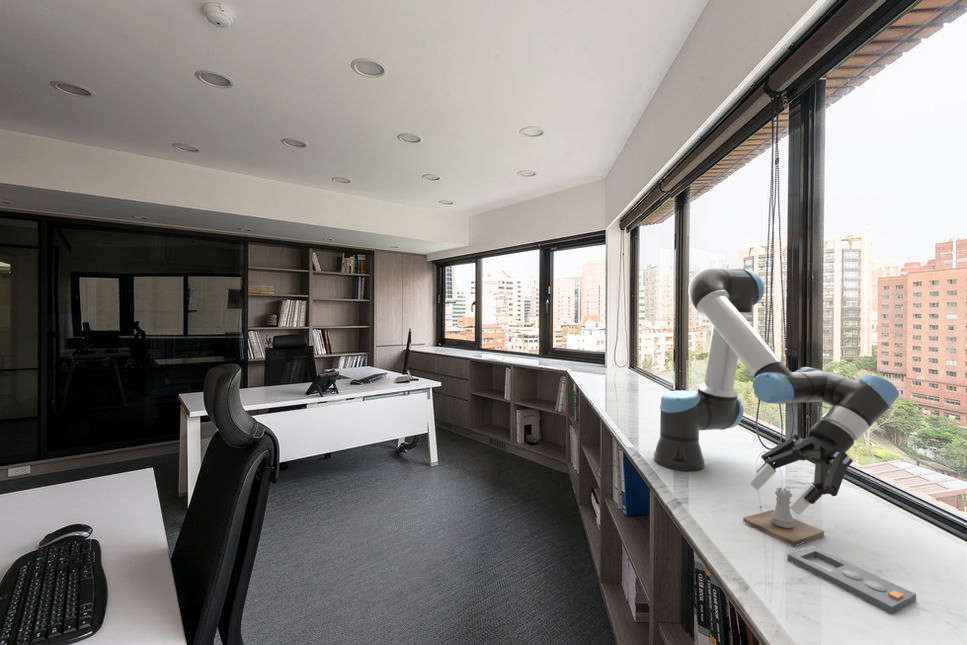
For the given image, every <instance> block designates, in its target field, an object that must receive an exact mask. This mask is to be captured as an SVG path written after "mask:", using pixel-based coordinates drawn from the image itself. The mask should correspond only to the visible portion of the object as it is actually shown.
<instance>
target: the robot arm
mask: <svg viewBox="0 0 967 645" xmlns="http://www.w3.org/2000/svg"><path fill="white" fill-rule="evenodd" d="M764 294H765V284H764V282H763V280H762V278H761V277H760V276H759V274H758V273H757V272H755V271H754V270H750V269H744V268H722V267H719V268H718V267H709V268H704V269H701V270H699V271H698V272H697V273H696V274H694V276H693V277H692V278H691V280H690V282H689V284H688V296H689V300H690V302H691V304H692V305H693V307H694V308H695V310H696V311H697V312H698V314H701V315H705V317H706V318H707V319H708V320H709V322H710V323H711V324H712V328H711V335H710V340H709V341H710V342H709V348H708V355H707V361H706V368H705V369H706V370H705V376H704V382H703V383H701V384H700V385H699V386H698V387H697V388H698V389H697V392H696V391H693V390H692V391H691V390H685V389H684V390H671V391H667V392H665V393H663V394H662V396H661V398H660V405H659V409H660V417H659V418H660V419H659V420H660V422H659V423H660V424H659V425H660V426H659V430H660V431H659V440H658V441H657V445H656V447H655V450H654V453H653V460H654V461H655V462H656V463H657V464H659V465H661V466H663V467H666V468H668V469H669V468H670V469H674V470H677V471H686V472H687V471H690V472H692V471H695V472H696V471H700V470H703V469H704V468H705V458H704V456H703V452H702V448H701V445H700V442H699V441H700V438H699V437H700V431H711V430H713V431H715V430H720V431H722V430H727V429H732V428H735V427H736V426H738V425H739V423H740V422H742V419H743V417H744V406H743V405H742V401H741V399H740V398H739V397H738V395H739V394H738V392H737V391H736V390H735V388H734V386H735V380H736V374H737V369H738V368H737V367H738V362H739V361H740V362H741V363H742V364H743V366H744V368H746V370H748V372H749V374H750V375H751V376H752V377H753V381H752V388H753V393H754V396H756V398H757V399H758V400H760V401H761V402H764V403H765V404H774V405H775V404H776V405H784V404H788V403H789V404H791V403H814V402H815V403H816V402H819V403H824V404H826V405H828V406H830V408H829V409H828V410H827V411H826V412H824V414H823V415H822V416H821V417H820V420H818V421H817V422H816V423H815V424H814V425H813V426H811V428H809V431H808V432H809V435H808V436H806V437H805V438H801V437H799V436H798V434H793V435H792V436H790V438H788V439H787V440H786V441H784V442H782V443H780V444H779V445H777V446H775V447H773V448H772V449H770V450H769V451H766V452H765V453H764V454H762V455H761V456H760V457H761V459H762V460H763V461H764V462H763V464H762V465H761V466H760V468H758V470H756V473H755V474H753V476H752V477H751V478H750V479H749V480H748V484H750V485H751V487H752V488H754V490H756V491H759V490H760V489H761V488H762V487H763V486H764V485H765V484H766V482H768V481H769V480H770V479H771V478H772V477H773V476H774V475H775V474H776V472H777V470H776V469H779V468H780V467H781V468H782V467H783V466H786V465H790V464H792V463H796V462H798V461H802V462H803V461H806V460H807V461H809V462H813V463H814V464H815V466H814V477H813V478H814V479H813V482H811V484H810V483H808V484H807V485H806V486H805V487H804V488H803V490H801V492H799V493H798V494H797V495H796V496H795V497H794V498H793V500H792V501H790V502H791V503H790V504H789V507H790V510H792V511H793V512H794V513H795V514H796V515H798V516H800V515H801V514H803V512H804V511H805V510H806V509H807V508H808V507H809V506H810V505H813V504H815V503H816V502H817V501H818V500H819V499H820V498H821V497H822V496H823V495H830V496H832V497H836V496H837V495H838V493H839V491H840V487H841V485H842V483H843V482H842V481H843V480H844V477H845V474H846V471H847V469H848V467H850V465H851V464H853V462H854V461H853V459H852V457H850V456H849V455H848V454H847V451H849V450H850V449H851V448H852V446H853V445H854V444H855V442H857V441H858V440H859V439H860V438H861V437H862V436H863V435H864V434H865V433H866V432H867V431H868V430H869V429H870V427H871V426H872V425H873V424H874V423H875V422H876V421H878V419H880V417H881V416H882V415H883V414H884V413H886V411H888V410H890V409H891V406H893V404H894V402H896V400H897V399H898V397H899V395H900V392H899V390H898V387H897V386H895V385H894V383H893V382H891V381H889V380H888V379H886V378H885V377H882V376H879V375H876V374H874V373H873V374H872V373H870V374H868V373H867V374H863V375H862V376H860V377H858V379H857V380H855V379H852V378H846V377H844V376H840V375H837V374H834V373H831V372H828V371H824V370H822V369H820V368H813V367H809V366H804V367H803V366H802V367H800V368H799V369H797V370H796V371H793V372H792V371H791V370H790V369H789V368H788V367H787V366H786V365H785V364H784V362H783V361H782V360H781V358H780V357H778V355H777V354H776V353H775V352H774V351H773V350H772V348H771V347H770V346H769V345H768V344H767V343H766V341H765V340H764V339H763V338H762V337H761V335H760V334H759V333H758V332H757V331H756V330H755V329H754V328H753V326H752V325H751V324H750V323H749V321H748V320H747V319H746V317H747V316H749V315H750V314H752V311H753V310H752V309H753V306H755V305H757V304H758V303H759V302H760V301H761V300H762V298H763V297H764ZM831 462H832V463H831Z"/></svg>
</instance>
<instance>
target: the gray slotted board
mask: <svg viewBox="0 0 967 645" xmlns="http://www.w3.org/2000/svg"><path fill="white" fill-rule="evenodd" d="M786 556H787V559H786V560H787V562H791V563H793V564H794V565H796V566H798V567H800V568H802V569H804V570H806V571H807V572H810V573H812V574H813V575H816V576H818V577H819V578H821V579H824V580H825V581H827V582H829V583H831V584H833V585H835V586H837V587H838V588H840V589H842V590H845V591H847V592H849V593H851V594H852V595H854V596H856V597H858V598H861V599H862V600H864V601H866V602H868V603H870V604H871V605H874V606H875V607H877V608H879V609H882V610H883V611H885V612H887V613H889V614H891V615H893V614H894V613H896V612H898V611H901V609H904V608H905V607H908V606H909V605H911V604H913V603H915V602H916V601H917V593H915V592H912V591H910V590H908V589H906V588H904V587H902V586H899V585H897V584H895V583H893V582H891V581H889V580H888V579H887V580H886V579H885V578H883V577H880V576H878V575H876V574H874V573H872V572H870V571H867V570H865V569H863V568H861V567H858V566H857V565H854V564H852V563H849V562H848V561H846V560H843V559H841V558H839V557H837V556H834V555H832V554H831V553H829V552H826V551H824V550H822V549H821V548H820V549H819V548H817V547H815V546H813V545H810V546H807V547H803V548H801V549H797V550H795V551H792V552H790V553H787V555H786ZM812 557H813V558H817V559H818V560H821V561H823V562H825V563H827V564H829V565H831V566H834V567H836V568H834V569H832V570H829V569H826V568H824V567H822V566H820V565H818V564H816V563H814V562H813V561H810V559H809V558H811V559H813V558H812ZM807 559H808V560H807Z"/></svg>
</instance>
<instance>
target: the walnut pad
mask: <svg viewBox="0 0 967 645" xmlns="http://www.w3.org/2000/svg"><path fill="white" fill-rule="evenodd" d="M774 510H775V509H770V510H766V511H763V512H759V513H756V514H752V515H748V516H746V517H742V520H743V521H742V523H744V522H745V523H744V524H746V523H747V524H746V525H748V526H750V527H752V528H755V529H757V530H759V531H761V532H763V533H765V534H766V535H769V536H771V537H774V538H775V539H777V540H779V541H781V542H783V541H784V543H785V542H786V543H785V544H787V543H788V545H790V544H791V545H790V546H792V545H793V546H792V547H796V546H798V545H797V544H799V545H801V544H800V543H802V542H805V543H807V542H806V541H808V542H810V541H809V540H811V541H813V540H816V539H818V538H821V537H824V536H825V531H824V530H822V529H820V528H817V527H815V526H812V525H810V524H808V523H806V522H804V521H800V520H798V519H796V518H793V517H792V518H793V519H794V522H793V523H794V527H792V528H790V529H788V528H782V527H779V526H777V525H775V524H773V523H772V521H771V518H772V517H771V514H772V513H773V512H774ZM815 538H816V539H815ZM812 539H813V540H812ZM802 544H803V543H802ZM795 545H796V546H795Z"/></svg>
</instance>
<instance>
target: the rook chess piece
mask: <svg viewBox="0 0 967 645" xmlns="http://www.w3.org/2000/svg"><path fill="white" fill-rule="evenodd" d="M774 494H775V495H776V498H775V502H776V504H775V508H774V509H773V510H774V512H773V513H772V514H771V517H772V518H771V521H772V523H773V524H775V525H777V526H779V527H782V528H788V529H790V528H792V527H794V523H793V522H794V519H795V518H794V519H793V515H792V514H791V508H790V507H789V504H790V503H791V502H792V501H791V500H790V499H791V498H792V497H793V495H792V494H791V490H790V489H787V488H785V487H784V488H783V489H782V487H776V490H775V491H774Z"/></svg>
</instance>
